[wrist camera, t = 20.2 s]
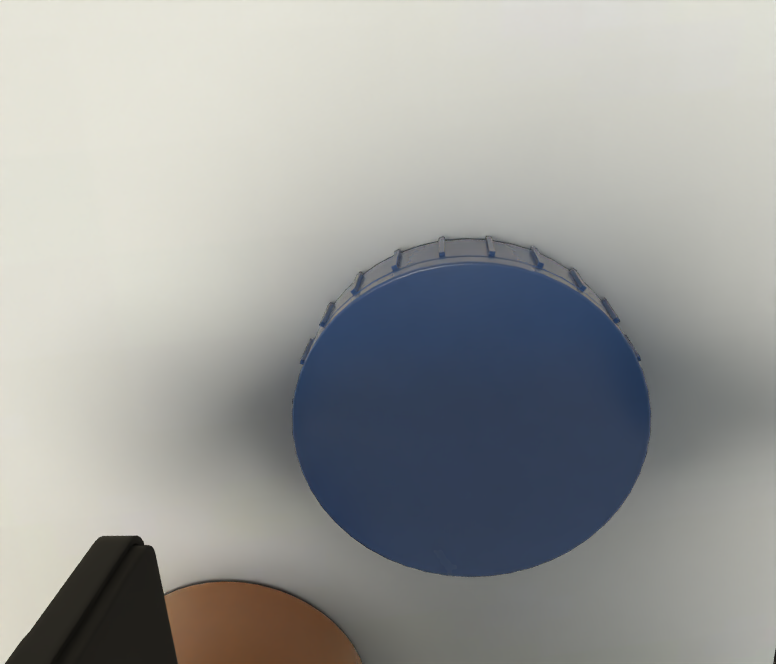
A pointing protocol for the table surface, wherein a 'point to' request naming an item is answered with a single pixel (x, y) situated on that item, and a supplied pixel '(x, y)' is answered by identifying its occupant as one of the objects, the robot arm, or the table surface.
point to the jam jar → (252, 627)
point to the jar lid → (470, 409)
